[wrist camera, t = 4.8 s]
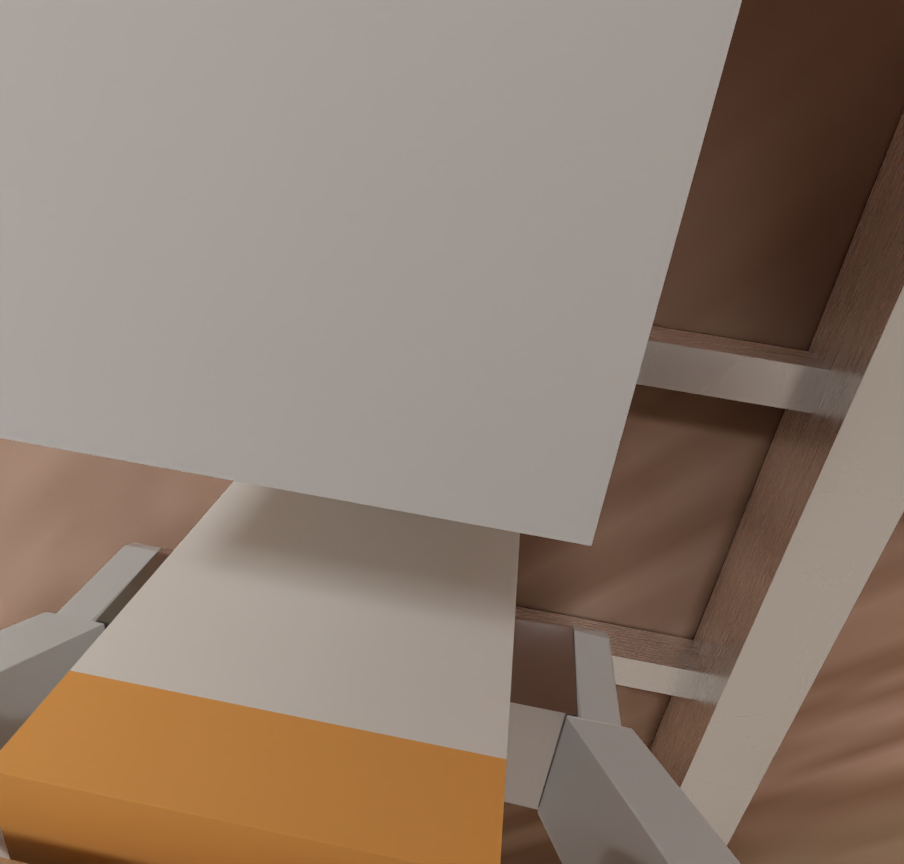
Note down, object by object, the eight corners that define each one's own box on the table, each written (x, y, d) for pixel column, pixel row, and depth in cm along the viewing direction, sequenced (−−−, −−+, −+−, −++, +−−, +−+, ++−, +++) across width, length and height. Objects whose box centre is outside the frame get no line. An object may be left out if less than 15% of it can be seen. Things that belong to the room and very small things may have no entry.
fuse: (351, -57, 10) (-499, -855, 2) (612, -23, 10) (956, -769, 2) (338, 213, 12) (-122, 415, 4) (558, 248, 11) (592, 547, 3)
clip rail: (383, -53, 10) (322, -119, 7) (1065, 34, 9) (1280, -1, 7) (331, 741, 18) (293, 850, 15) (694, 815, 17) (721, 943, 15)
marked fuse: (331, 368, 13) (-17, 769, 5) (527, 401, 13) (499, 881, 5) (323, 530, 15) (59, 1019, 7) (495, 562, 15) (436, 1109, 6)
